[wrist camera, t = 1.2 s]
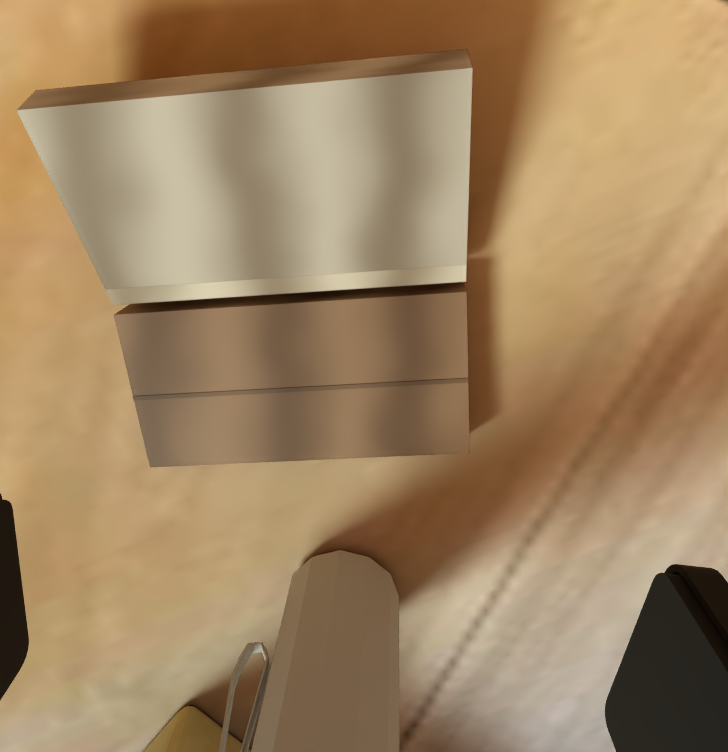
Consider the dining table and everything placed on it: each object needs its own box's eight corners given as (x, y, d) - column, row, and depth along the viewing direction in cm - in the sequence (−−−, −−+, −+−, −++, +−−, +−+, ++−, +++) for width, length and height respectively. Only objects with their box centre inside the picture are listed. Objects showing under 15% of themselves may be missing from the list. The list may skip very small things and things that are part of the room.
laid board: (462, 282, 32) (466, 292, 30) (465, 435, 36) (469, 453, 34) (129, 304, 34) (113, 315, 32) (162, 450, 37) (149, 467, 35)
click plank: (467, 49, 25) (472, 68, 23) (462, 257, 32) (466, 281, 30) (35, 90, 26) (16, 110, 25) (123, 281, 33) (112, 304, 32)
